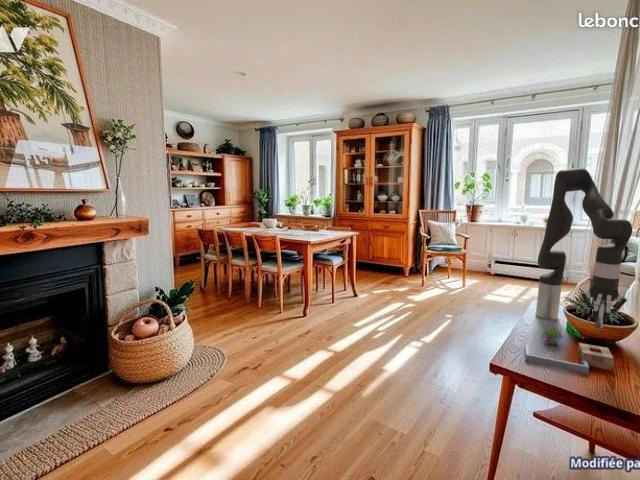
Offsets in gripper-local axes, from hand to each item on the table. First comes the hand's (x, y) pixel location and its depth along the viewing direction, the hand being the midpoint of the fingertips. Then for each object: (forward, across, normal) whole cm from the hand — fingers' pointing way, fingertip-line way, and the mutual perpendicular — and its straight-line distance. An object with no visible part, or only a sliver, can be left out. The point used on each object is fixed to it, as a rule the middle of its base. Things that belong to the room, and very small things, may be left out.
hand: (599, 320), depth 130 cm
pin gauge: (+3, 0, 0) cm, 3 cm away
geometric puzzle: (+16, +13, -9) cm, 23 cm away
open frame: (+16, +13, +6) cm, 22 cm away
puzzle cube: (+16, -1, -27) cm, 32 cm away
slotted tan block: (+16, 0, 0) cm, 16 cm away
